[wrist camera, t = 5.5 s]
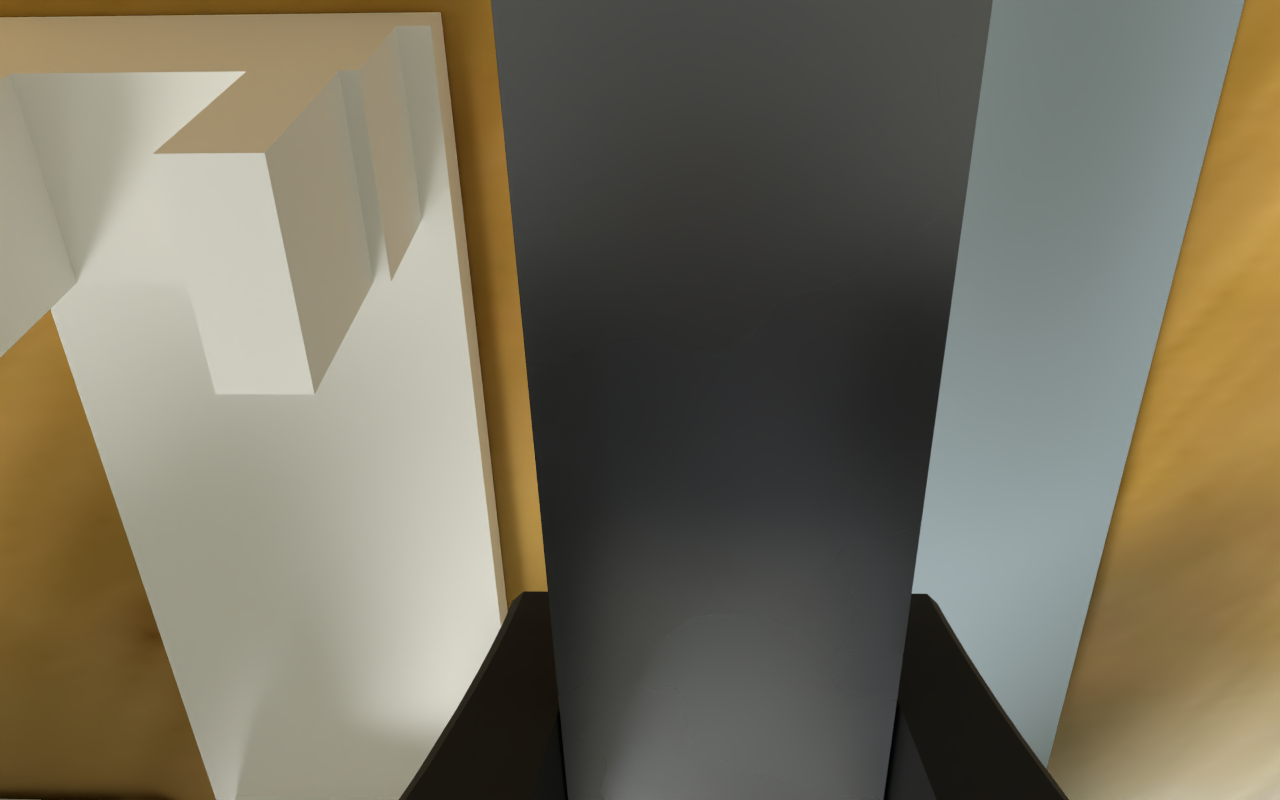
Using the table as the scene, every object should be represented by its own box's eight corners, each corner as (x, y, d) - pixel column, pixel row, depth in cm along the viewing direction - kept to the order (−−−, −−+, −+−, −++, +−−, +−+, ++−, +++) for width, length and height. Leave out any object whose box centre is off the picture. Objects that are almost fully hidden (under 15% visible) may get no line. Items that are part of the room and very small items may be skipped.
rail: (630, 1151, 17) (621, 1353, 15) (485, -996, 6) (357, -1401, 3) (793, 1157, 17) (806, 1362, 15) (1000, -1029, 5) (1194, -1470, 3)
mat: (677, 758, 26) (677, 780, 25) (671, -801, 12) (670, -820, 12) (1034, 764, 25) (1042, 786, 25) (1432, -832, 12) (1464, -856, 11)
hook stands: (252, 847, 28) (156, 1105, 23) (-16, 17, 17) (-308, 157, 12) (534, 853, 28) (500, 1115, 23) (441, 12, 17) (335, 152, 12)
